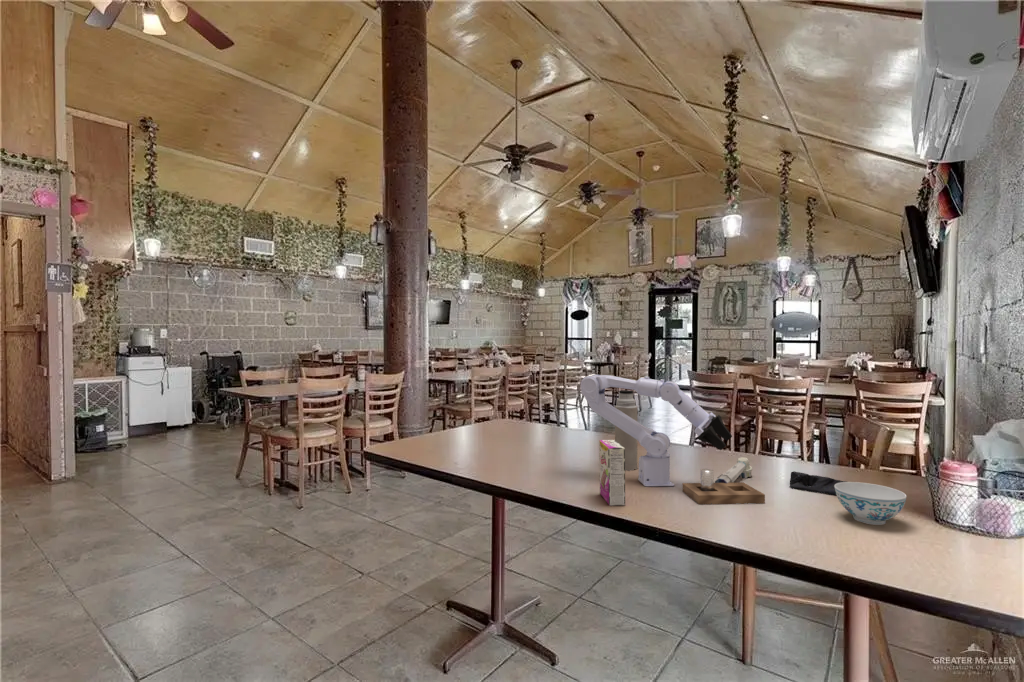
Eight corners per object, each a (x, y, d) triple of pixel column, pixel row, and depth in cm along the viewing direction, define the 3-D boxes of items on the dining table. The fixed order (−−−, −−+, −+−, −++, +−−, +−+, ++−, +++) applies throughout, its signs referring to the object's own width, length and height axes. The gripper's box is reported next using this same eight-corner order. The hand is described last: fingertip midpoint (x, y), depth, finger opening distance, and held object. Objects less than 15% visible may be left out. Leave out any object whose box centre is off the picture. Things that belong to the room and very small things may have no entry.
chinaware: (910, 536, 117) (910, 503, 117) (834, 523, 125) (834, 493, 125) (902, 516, 130) (902, 487, 130) (833, 506, 138) (833, 479, 138)
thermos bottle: (616, 464, 186) (616, 389, 186) (638, 465, 183) (638, 389, 183) (613, 469, 178) (613, 391, 178) (636, 471, 176) (636, 391, 176)
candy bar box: (598, 494, 150) (598, 439, 150) (614, 493, 150) (614, 439, 150) (608, 506, 138) (608, 447, 138) (626, 506, 139) (625, 447, 139)
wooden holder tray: (698, 504, 140) (698, 495, 140) (682, 491, 152) (682, 483, 152) (764, 503, 141) (764, 494, 141) (743, 490, 153) (743, 482, 153)
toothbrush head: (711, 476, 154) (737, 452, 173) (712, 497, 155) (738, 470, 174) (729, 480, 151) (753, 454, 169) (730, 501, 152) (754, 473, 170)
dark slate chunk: (869, 505, 141) (869, 488, 141) (784, 488, 156) (784, 473, 156) (879, 493, 152) (879, 477, 152) (799, 479, 167) (799, 465, 167)
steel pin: (703, 499, 144) (703, 471, 144) (698, 495, 148) (698, 468, 148) (715, 499, 145) (715, 471, 145) (710, 495, 148) (710, 468, 148)
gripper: (692, 410, 149) (729, 444, 144) (706, 396, 160) (741, 426, 155) (678, 425, 152) (713, 458, 148) (692, 410, 164) (725, 440, 159)
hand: (726, 443), depth 152 cm, fingers open, 7 cm apart
